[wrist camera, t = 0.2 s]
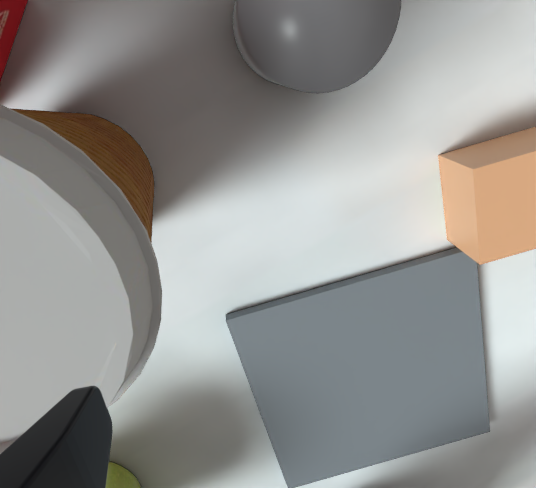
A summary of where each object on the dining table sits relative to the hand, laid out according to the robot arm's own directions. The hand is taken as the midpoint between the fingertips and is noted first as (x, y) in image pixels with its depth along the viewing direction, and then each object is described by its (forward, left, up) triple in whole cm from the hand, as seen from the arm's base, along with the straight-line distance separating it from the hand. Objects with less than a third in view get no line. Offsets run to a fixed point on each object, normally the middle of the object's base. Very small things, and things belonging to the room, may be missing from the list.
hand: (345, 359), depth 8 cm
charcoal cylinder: (+6, -3, -14) cm, 16 cm away
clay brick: (-4, -12, -14) cm, 19 cm away
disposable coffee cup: (+2, +8, -14) cm, 17 cm away
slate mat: (-14, -3, -14) cm, 20 cm away
